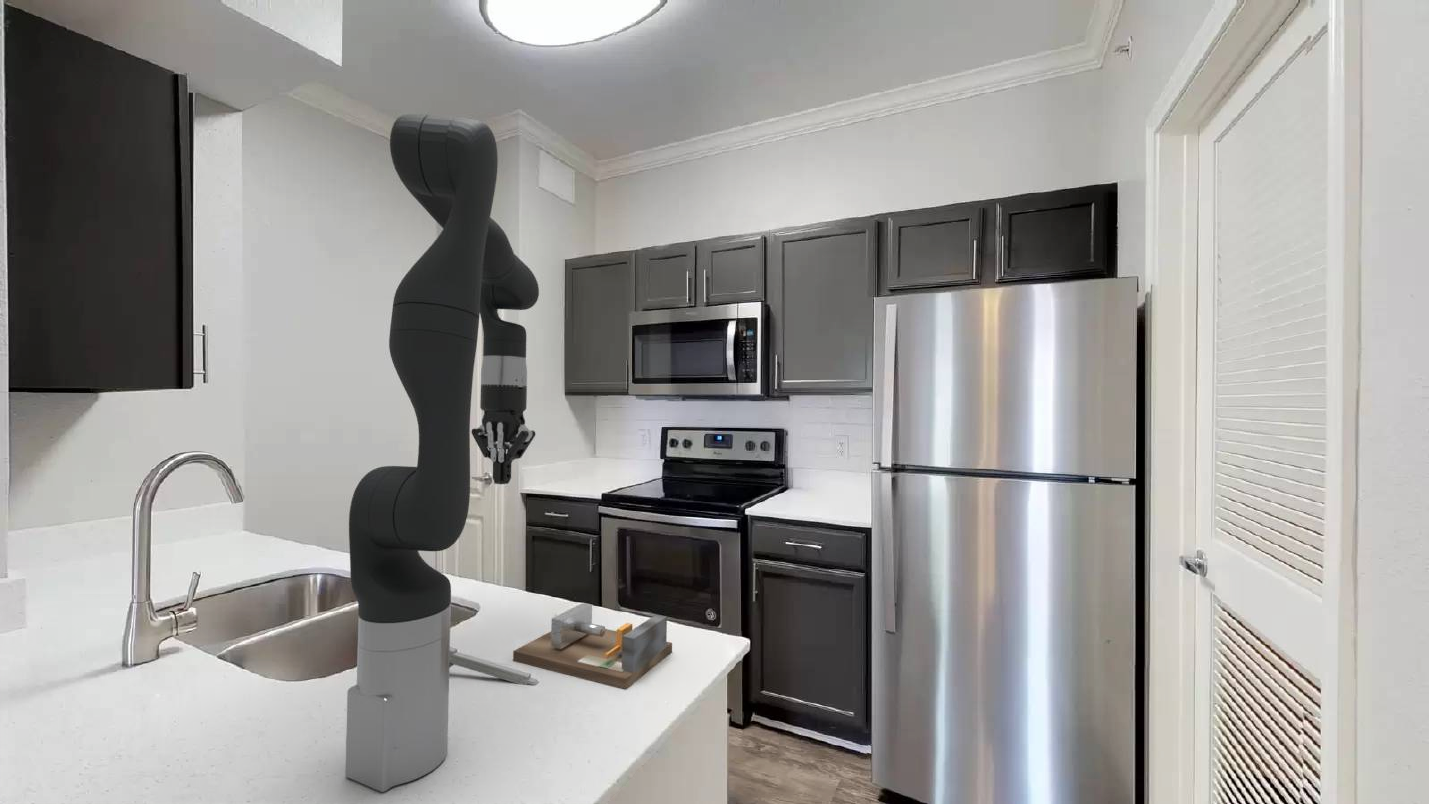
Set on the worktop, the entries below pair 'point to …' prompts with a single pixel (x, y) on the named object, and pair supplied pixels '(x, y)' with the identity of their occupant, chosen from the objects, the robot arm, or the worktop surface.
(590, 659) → the gauge board
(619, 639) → the orange paddle
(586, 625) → the plunger
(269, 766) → the worktop surface
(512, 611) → the worktop surface
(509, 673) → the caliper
